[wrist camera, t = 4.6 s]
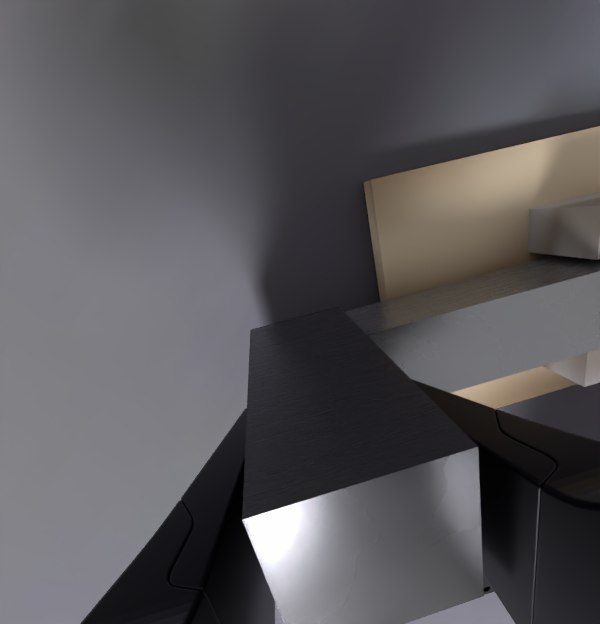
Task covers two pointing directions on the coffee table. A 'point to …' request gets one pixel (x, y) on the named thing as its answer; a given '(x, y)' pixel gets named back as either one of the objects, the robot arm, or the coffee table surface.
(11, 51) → the coffee table surface
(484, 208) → the rail
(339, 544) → the grey metal bar
